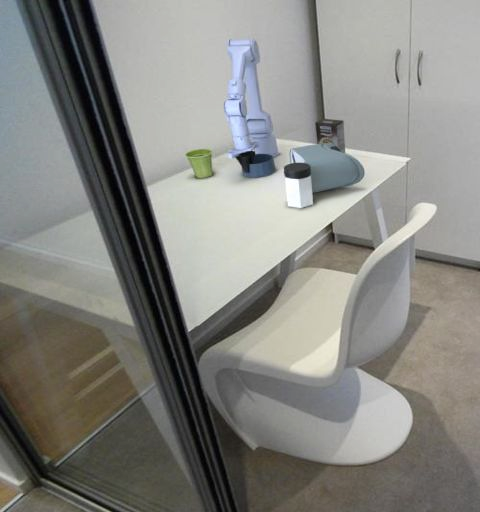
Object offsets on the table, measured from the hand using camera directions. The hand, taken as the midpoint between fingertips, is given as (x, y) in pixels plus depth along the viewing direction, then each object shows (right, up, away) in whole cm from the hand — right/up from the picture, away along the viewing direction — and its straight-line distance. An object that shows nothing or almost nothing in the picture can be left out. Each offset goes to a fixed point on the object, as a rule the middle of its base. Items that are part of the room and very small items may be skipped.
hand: (248, 171), depth 159 cm
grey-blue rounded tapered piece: (+30, -6, -7) cm, 32 cm away
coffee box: (+30, +6, +12) cm, 32 cm away
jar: (+23, -14, -20) cm, 34 cm away
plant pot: (-18, -1, +4) cm, 18 cm away
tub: (+3, +1, +5) cm, 6 cm away
